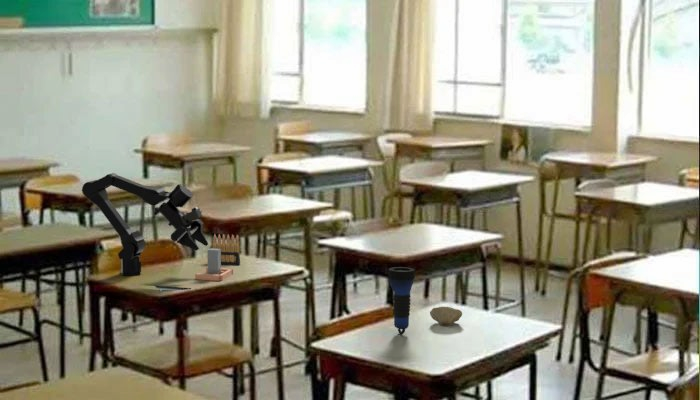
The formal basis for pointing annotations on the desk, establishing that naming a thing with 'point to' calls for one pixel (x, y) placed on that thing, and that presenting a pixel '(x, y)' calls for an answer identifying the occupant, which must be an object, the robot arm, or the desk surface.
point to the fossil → (445, 315)
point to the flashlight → (401, 295)
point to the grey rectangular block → (214, 261)
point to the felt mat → (170, 288)
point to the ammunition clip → (228, 250)
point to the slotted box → (215, 275)
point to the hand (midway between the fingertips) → (202, 247)
